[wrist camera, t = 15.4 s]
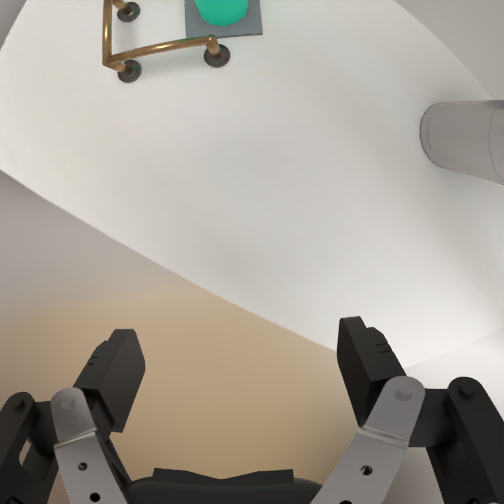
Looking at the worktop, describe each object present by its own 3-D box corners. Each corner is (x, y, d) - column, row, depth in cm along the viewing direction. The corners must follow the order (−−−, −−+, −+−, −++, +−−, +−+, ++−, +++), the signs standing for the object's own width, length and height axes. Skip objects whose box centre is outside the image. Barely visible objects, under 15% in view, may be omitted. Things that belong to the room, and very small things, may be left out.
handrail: (224, -15, 28) (219, -42, 21) (230, 66, 32) (226, 49, 25) (119, 6, 28) (95, -13, 21) (120, 85, 32) (93, 76, 25)
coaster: (256, -22, 27) (256, -24, 27) (262, 34, 30) (262, 33, 30) (185, -15, 27) (184, -17, 27) (187, 42, 31) (186, 41, 30)
